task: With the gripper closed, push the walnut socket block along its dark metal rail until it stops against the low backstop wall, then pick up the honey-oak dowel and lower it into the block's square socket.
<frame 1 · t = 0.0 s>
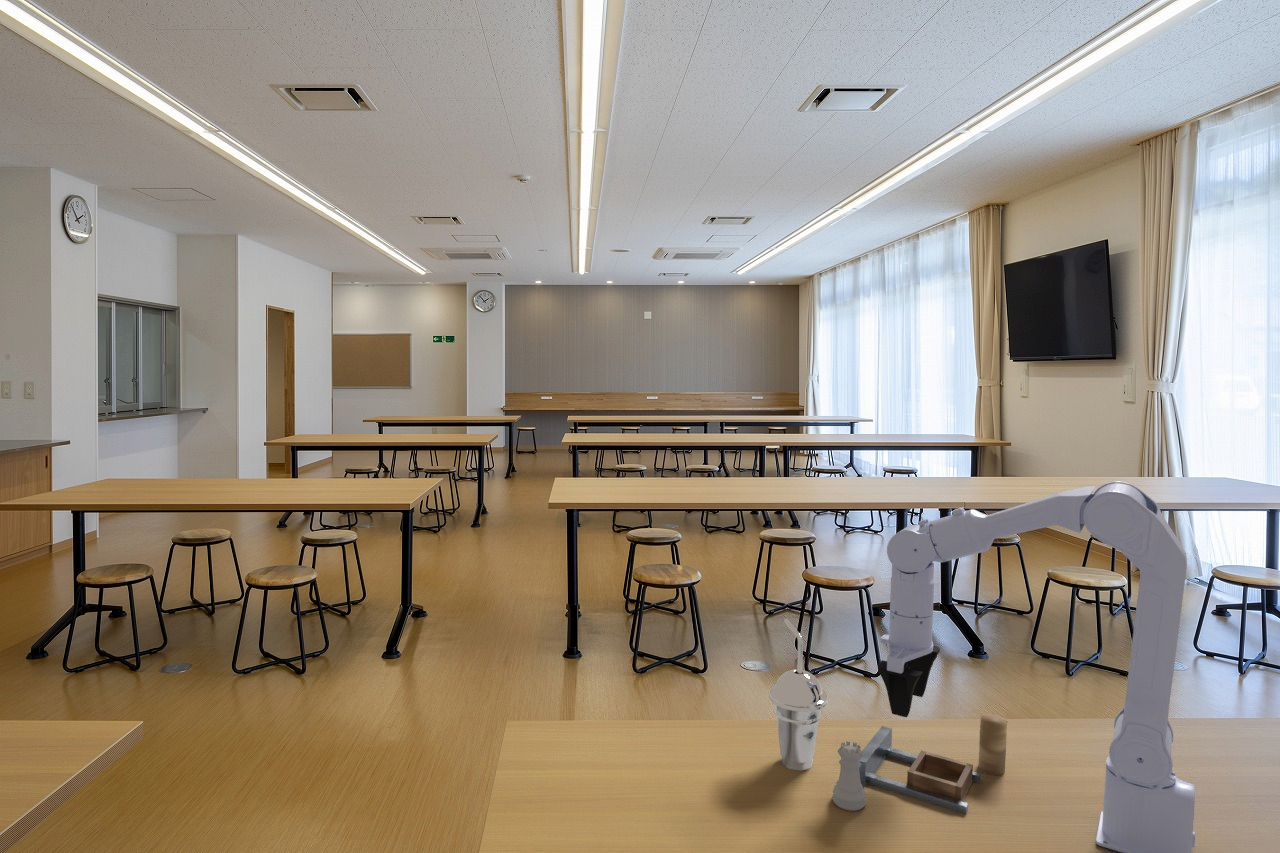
hand: (907, 704, 112), 10 cm above the table, tool pointing down, fingers open, 7 cm apart
rook chess piece: (848, 804, 106), on the table
walnut socket block: (940, 777, 109), point 1 cm above the table, slide at 0.0 cm
oak dowel: (991, 769, 114), on the table
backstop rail: (939, 786, 110), on the table
cup with straw: (796, 762, 116), on the table
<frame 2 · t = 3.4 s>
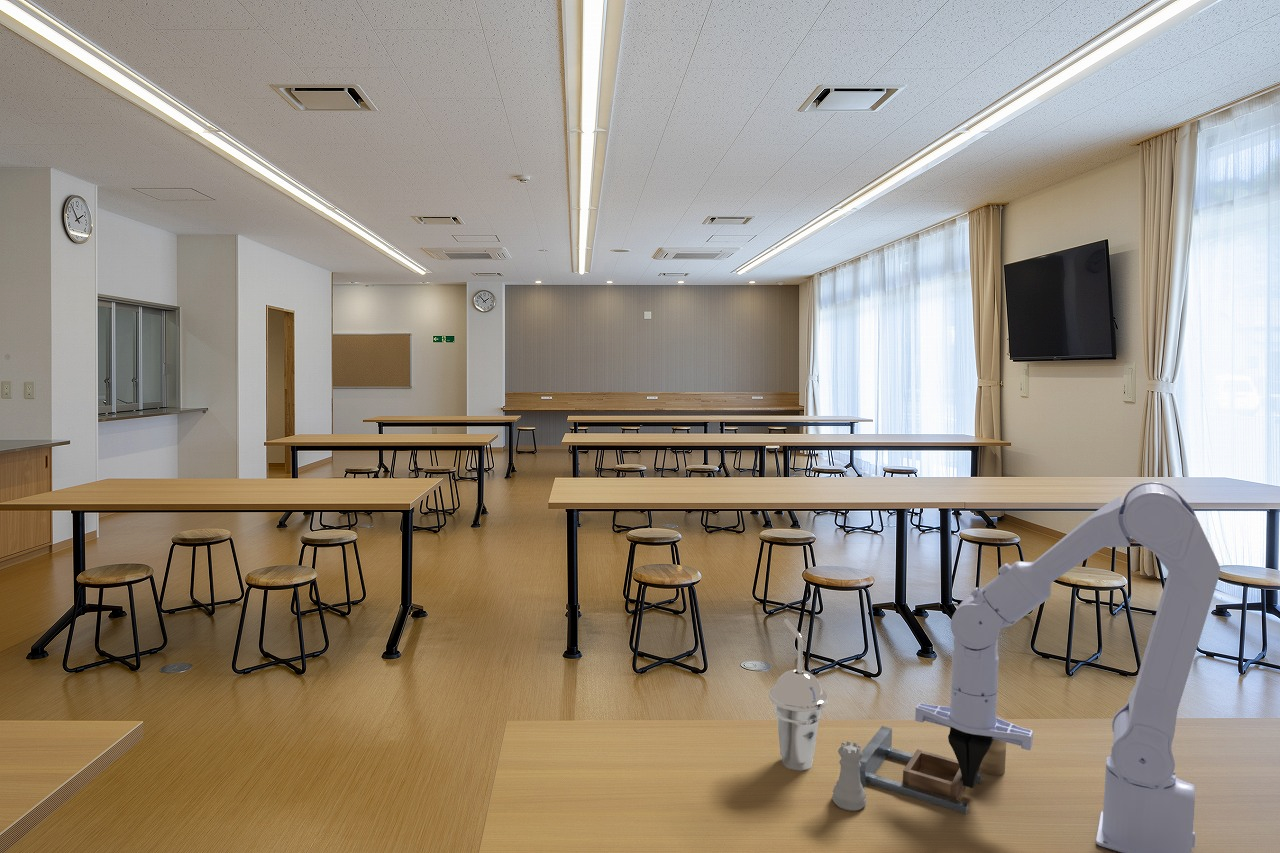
hand: (969, 783, 107), 2 cm above the table, tool pointing down, fingers closed
walnut socket block: (935, 775, 110), point 1 cm above the table, slide at 0.6 cm, touching gripper
everything else where it was.
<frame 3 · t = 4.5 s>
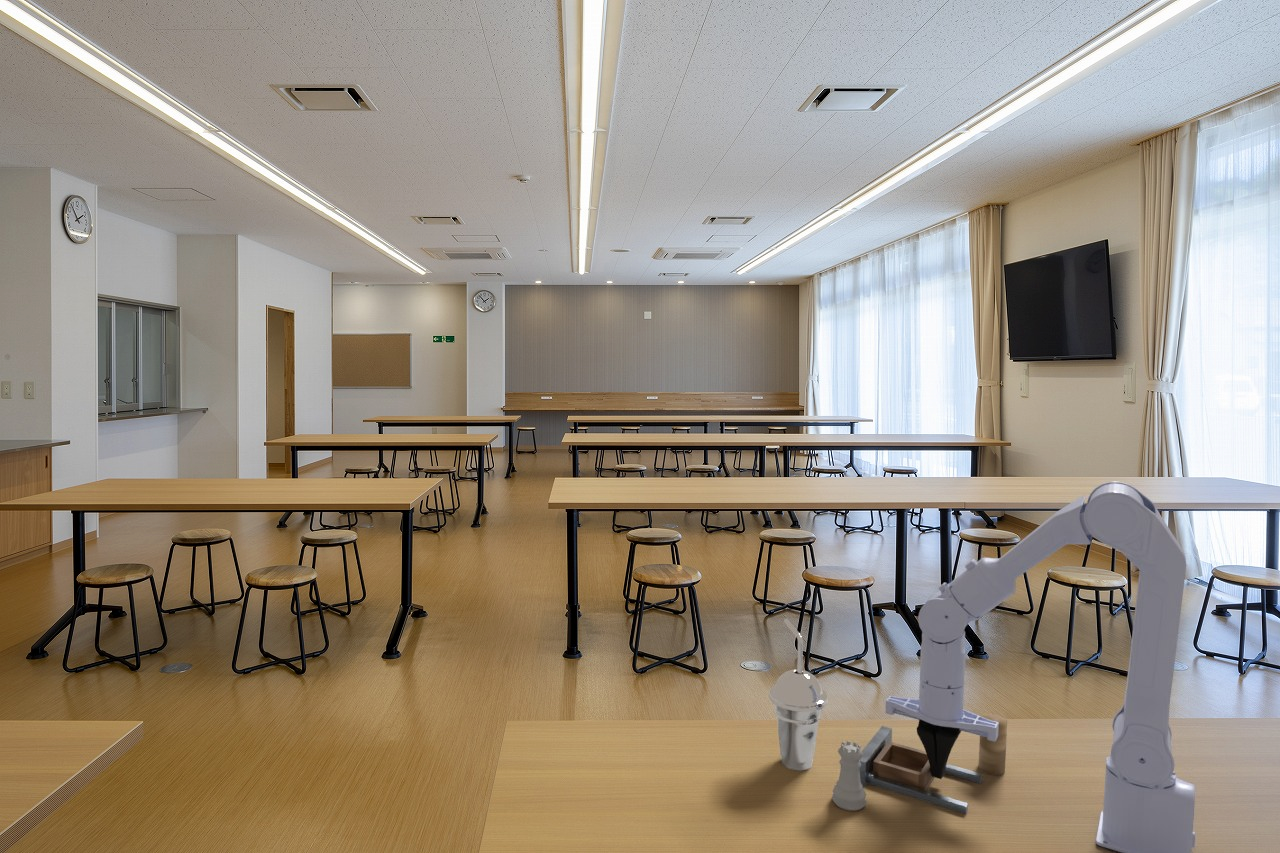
hand: (938, 774, 110), 2 cm above the table, tool pointing down, fingers closed
walnut socket block: (905, 766, 112), point 1 cm above the table, slide at 4.7 cm, touching gripper
everything else where it was.
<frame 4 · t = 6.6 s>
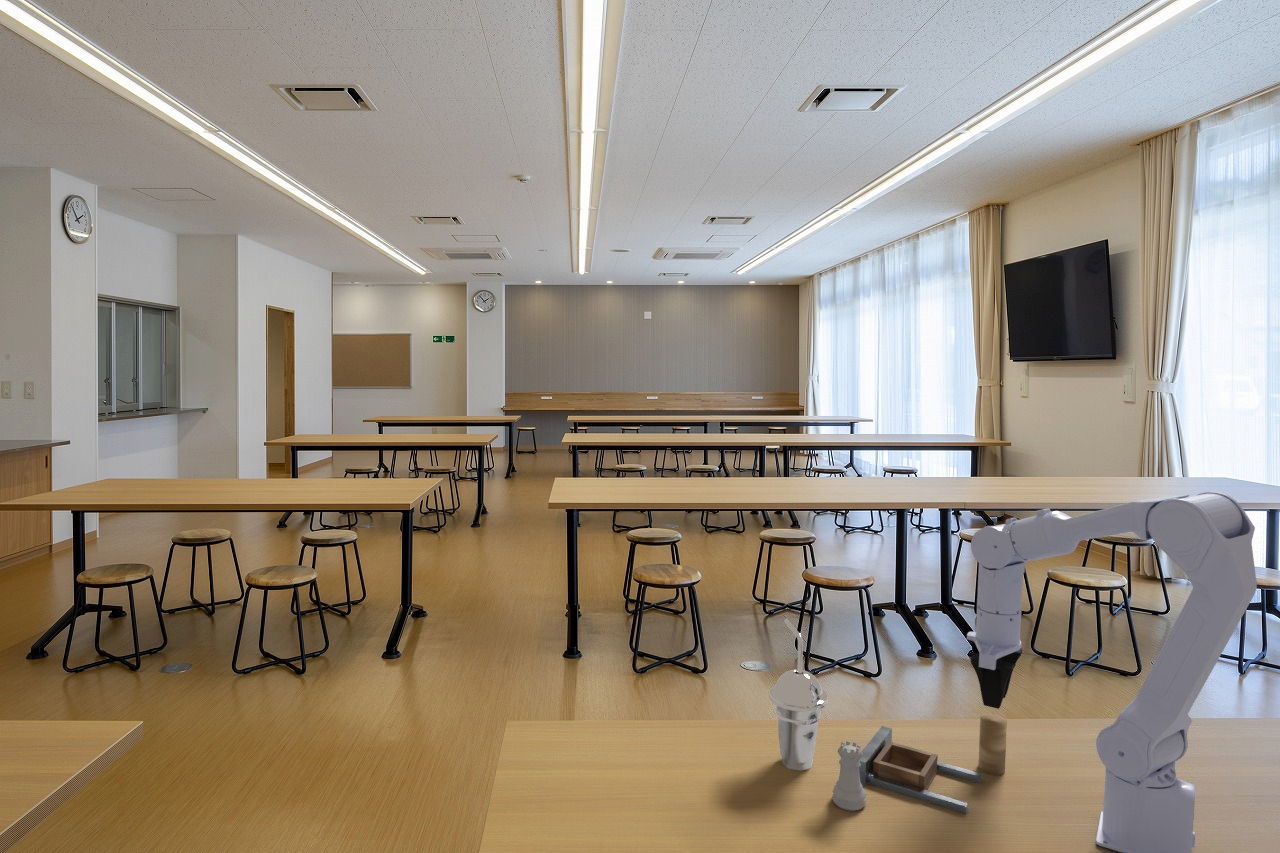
hand: (994, 701, 113), 10 cm above the table, tool pointing down, fingers open, 3 cm apart
walnut socket block: (905, 766, 112), point 1 cm above the table, slide at 4.7 cm
everything else where it was.
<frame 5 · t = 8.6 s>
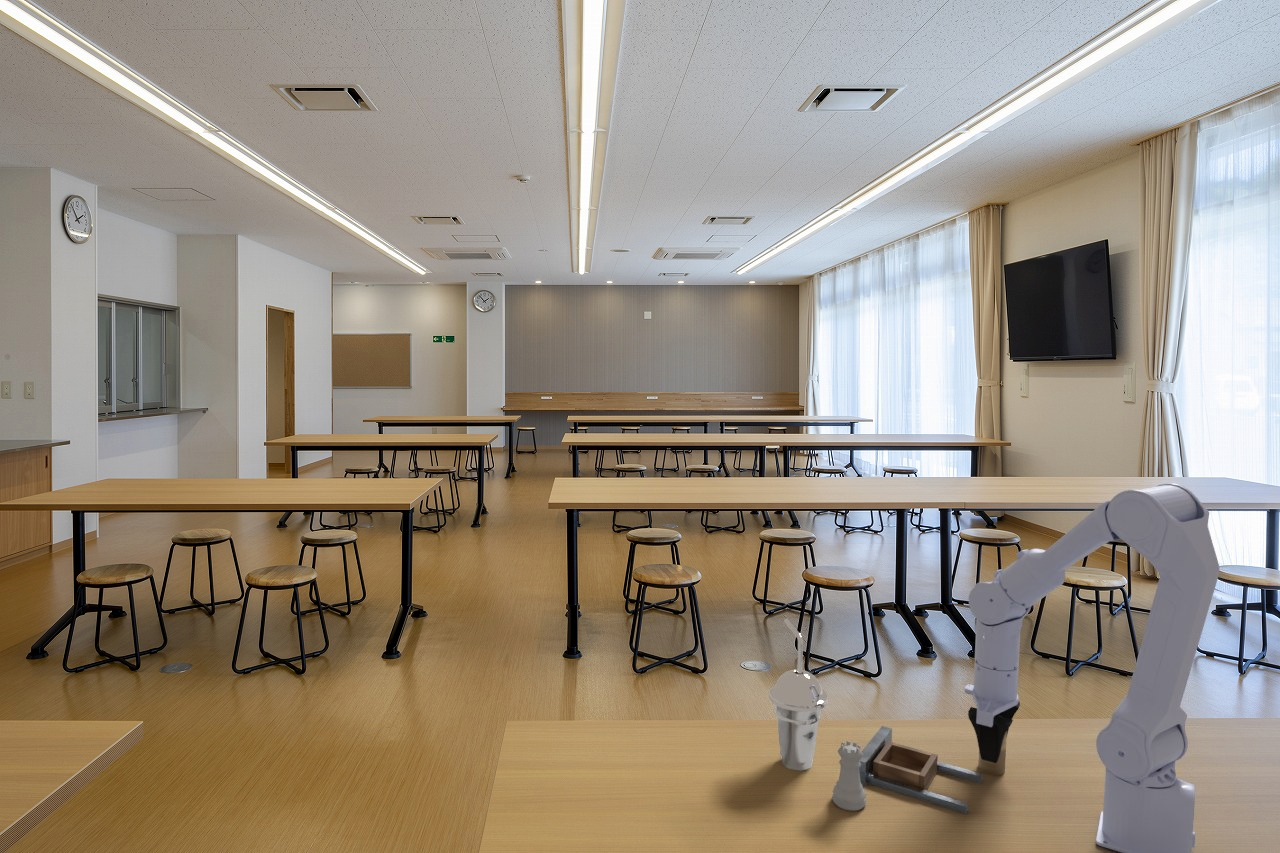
hand: (992, 754, 114), 2 cm above the table, tool pointing down, fingers closed on oak dowel, 3 cm apart
oak dowel: (991, 768, 114), on the table, touching gripper
everything else where it was.
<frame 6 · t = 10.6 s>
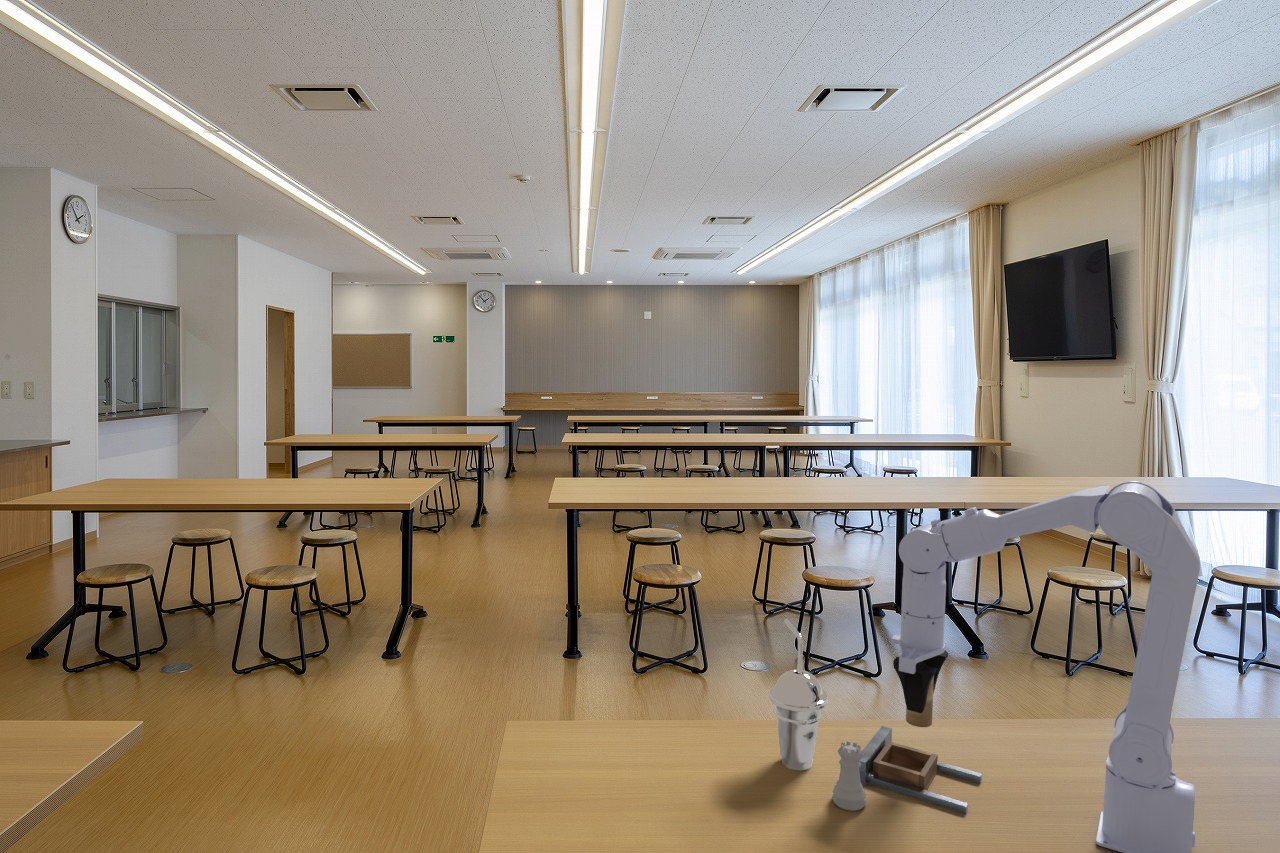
hand: (919, 705, 112), 10 cm above the table, tool pointing down, fingers closed on oak dowel, 3 cm apart
oak dowel: (918, 721, 112), point 8 cm above the table, touching gripper
everything else where it was.
when the fingers open (4 cm above the table, at t = 12.7 s): oak dowel stays where it is, resting on walnut socket block.
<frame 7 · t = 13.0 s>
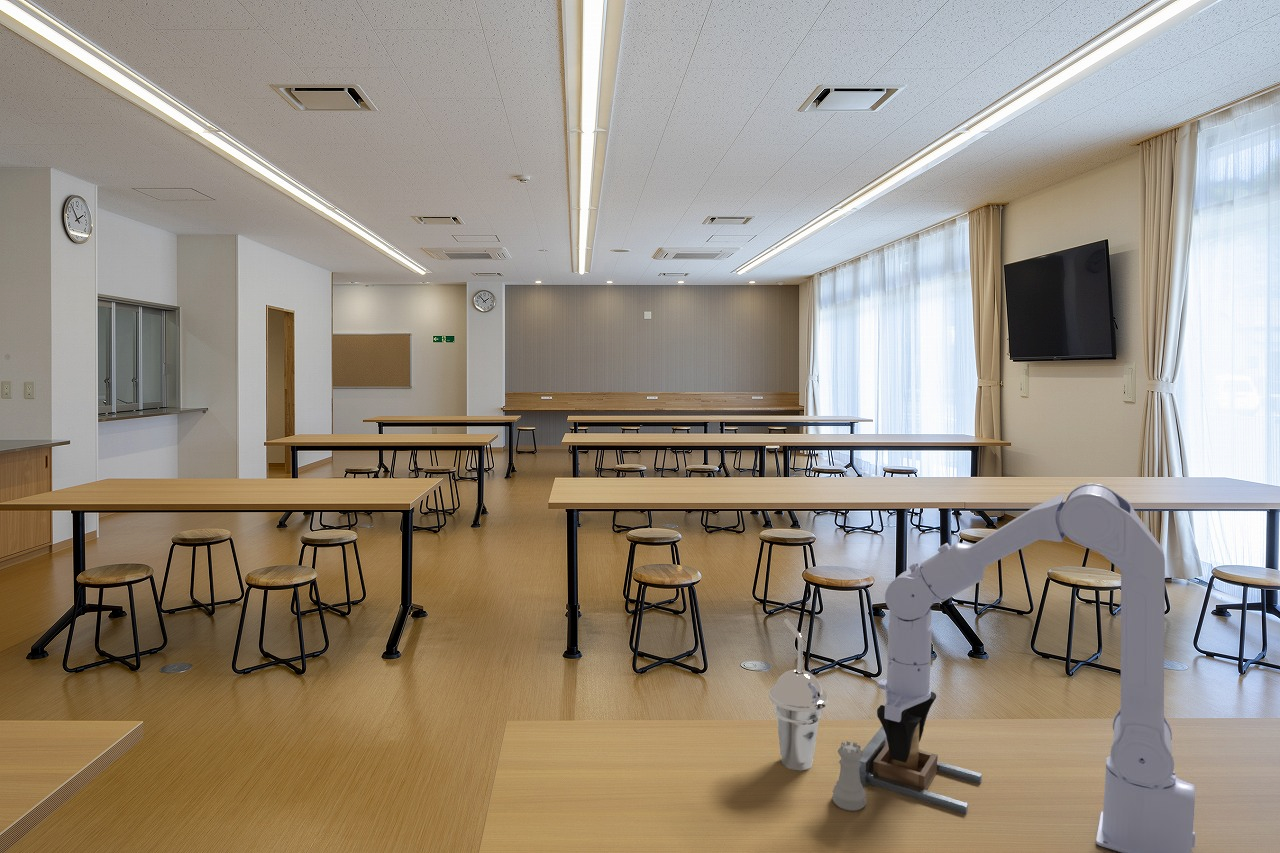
hand: (905, 750, 112), 4 cm above the table, tool pointing down, fingers open, 6 cm apart
walnut socket block: (905, 766, 112), point 1 cm above the table, slide at 4.7 cm, touching oak dowel
oak dowel: (904, 772, 112), point 1 cm above the table, touching walnut socket block
everything else where it was.
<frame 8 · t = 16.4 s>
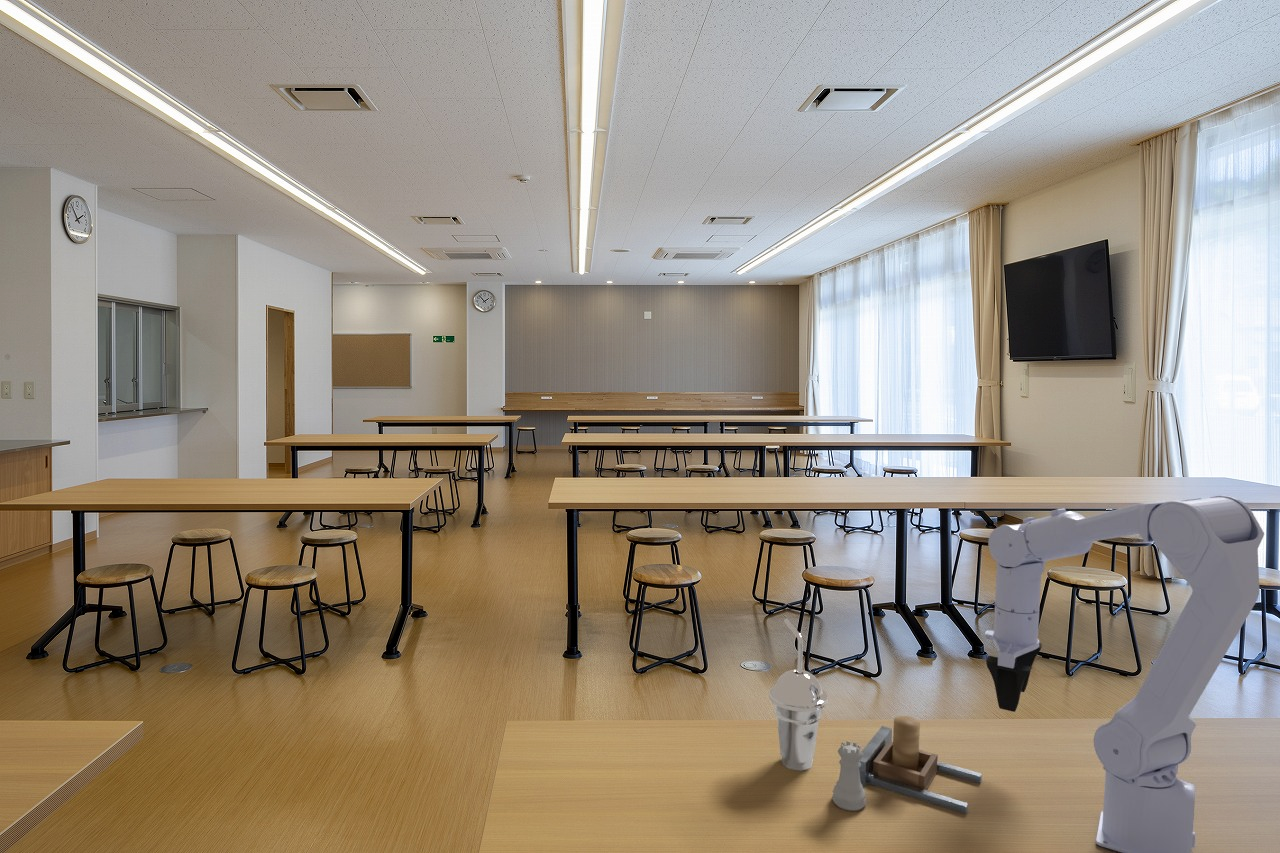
hand: (1012, 699, 114), 10 cm above the table, tool pointing down, fingers open, 7 cm apart
nothing on the table moved.
at the end: walnut socket block slide at 4.7 cm; oak dowel 0.0 cm off-centre on the walnut socket block, point 0.5 cm above the walnut socket block's base; oak dowel tilted 0° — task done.
